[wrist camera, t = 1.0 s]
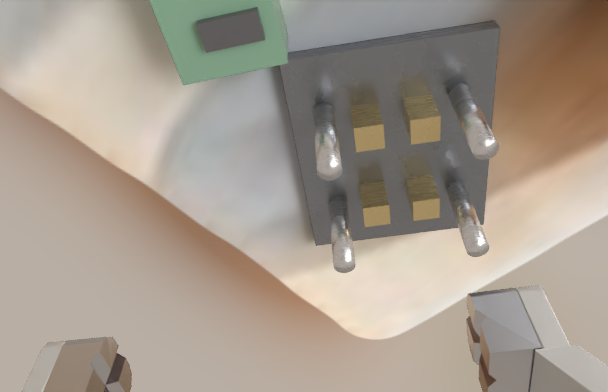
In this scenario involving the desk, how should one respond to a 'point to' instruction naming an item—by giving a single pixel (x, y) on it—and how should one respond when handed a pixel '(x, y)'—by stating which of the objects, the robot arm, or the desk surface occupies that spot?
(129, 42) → the desk surface
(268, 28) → the green rectangular block
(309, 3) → the desk surface
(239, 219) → the desk surface
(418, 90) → the chassis
